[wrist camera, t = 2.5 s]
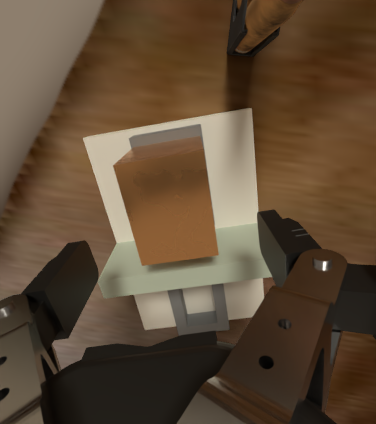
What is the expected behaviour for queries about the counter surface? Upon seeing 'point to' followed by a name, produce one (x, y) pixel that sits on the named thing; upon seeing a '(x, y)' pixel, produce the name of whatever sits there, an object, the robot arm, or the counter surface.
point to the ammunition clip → (257, 24)
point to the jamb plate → (223, 219)
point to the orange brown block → (168, 200)
